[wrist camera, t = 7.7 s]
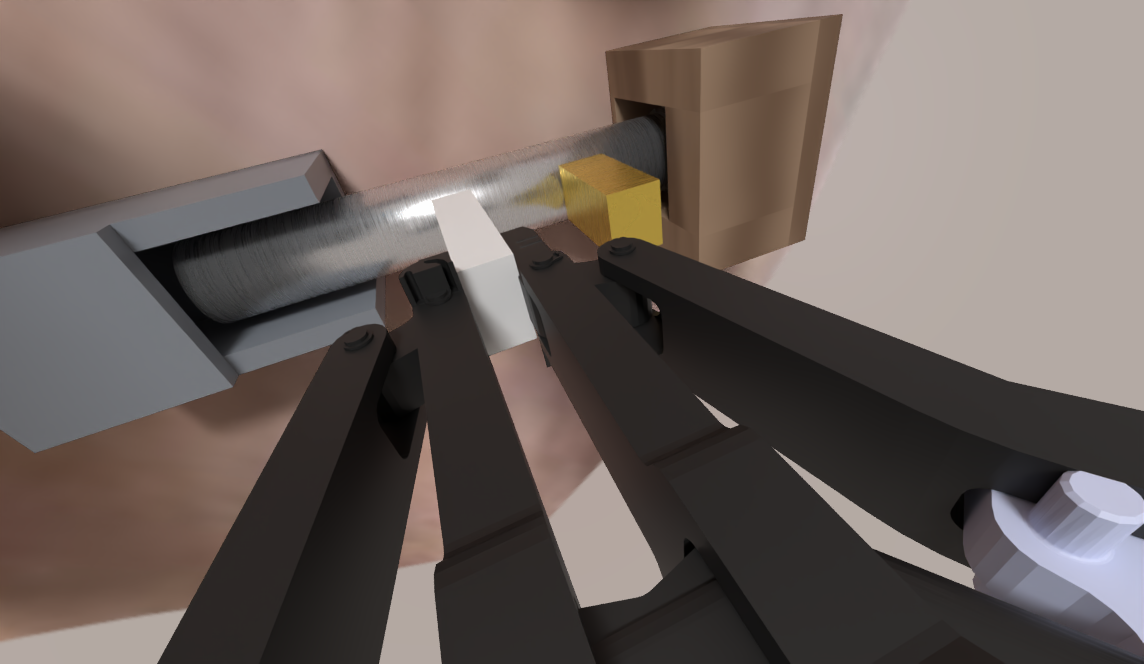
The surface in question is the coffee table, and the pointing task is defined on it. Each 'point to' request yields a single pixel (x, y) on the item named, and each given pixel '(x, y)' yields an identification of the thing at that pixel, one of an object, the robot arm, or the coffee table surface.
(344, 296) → the sleeve
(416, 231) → the tube
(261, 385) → the coffee table surface
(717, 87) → the socket
